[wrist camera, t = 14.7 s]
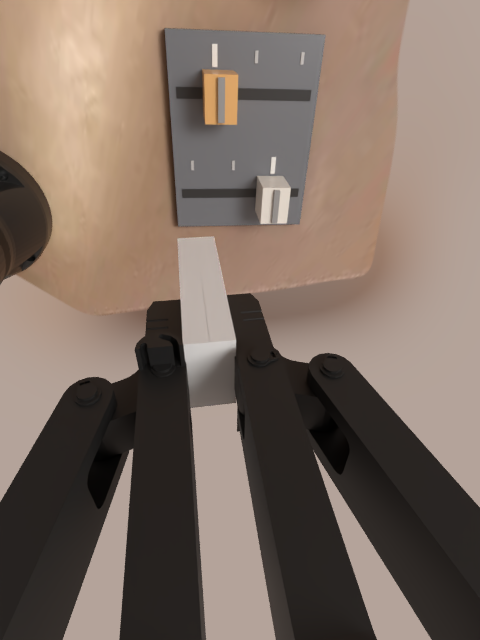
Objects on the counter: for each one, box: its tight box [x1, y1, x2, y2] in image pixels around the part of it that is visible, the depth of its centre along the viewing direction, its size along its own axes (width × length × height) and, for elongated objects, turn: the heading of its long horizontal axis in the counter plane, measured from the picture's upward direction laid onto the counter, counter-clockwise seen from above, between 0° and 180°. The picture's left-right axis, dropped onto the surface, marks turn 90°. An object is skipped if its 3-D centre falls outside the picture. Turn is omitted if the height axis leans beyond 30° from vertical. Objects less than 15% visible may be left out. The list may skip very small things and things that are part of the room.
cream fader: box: [255, 176, 291, 224], centre depth 43 cm, size 3×4×4 cm
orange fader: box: [202, 69, 238, 125], centre depth 36 cm, size 3×4×4 cm
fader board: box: [165, 28, 325, 226], centre depth 42 cm, size 15×19×1 cm
